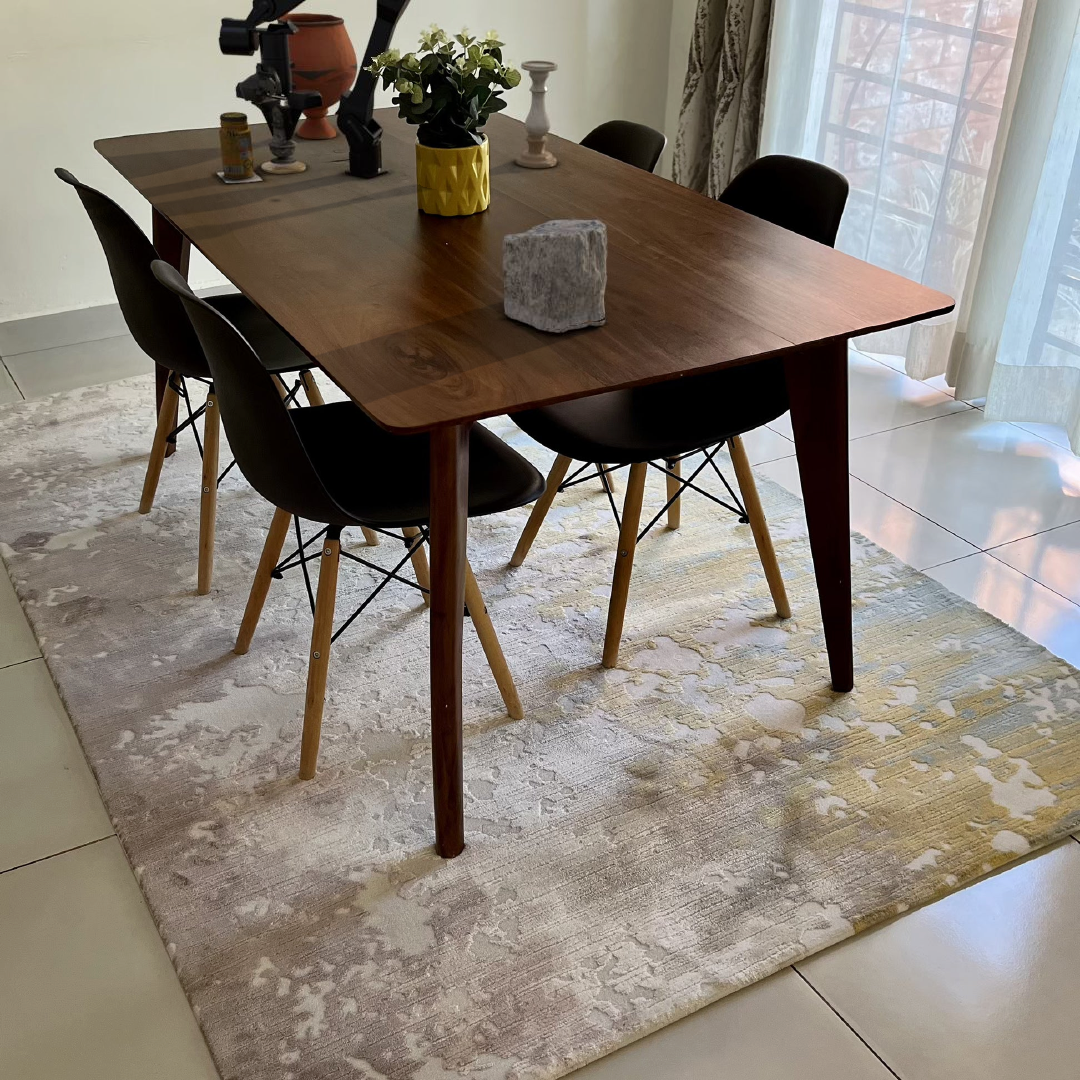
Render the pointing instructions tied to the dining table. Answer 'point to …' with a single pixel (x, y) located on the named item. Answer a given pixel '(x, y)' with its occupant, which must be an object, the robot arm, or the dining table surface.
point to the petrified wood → (556, 274)
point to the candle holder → (537, 118)
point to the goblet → (320, 66)
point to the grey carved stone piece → (280, 140)
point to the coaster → (283, 167)
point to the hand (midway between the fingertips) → (281, 138)
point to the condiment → (236, 149)
